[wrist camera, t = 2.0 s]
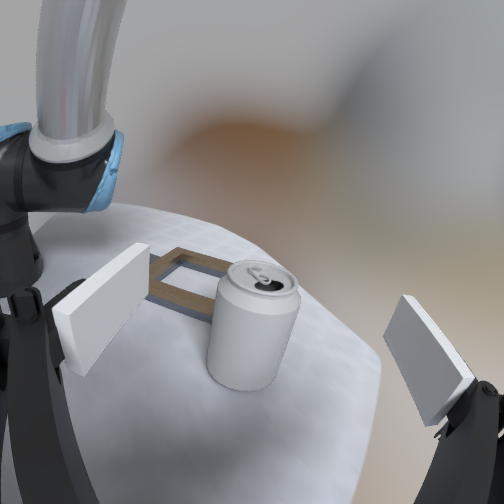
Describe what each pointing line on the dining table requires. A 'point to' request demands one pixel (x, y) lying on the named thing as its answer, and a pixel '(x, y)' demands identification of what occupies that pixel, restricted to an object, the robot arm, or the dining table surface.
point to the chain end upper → (178, 294)
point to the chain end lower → (173, 305)
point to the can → (251, 324)
